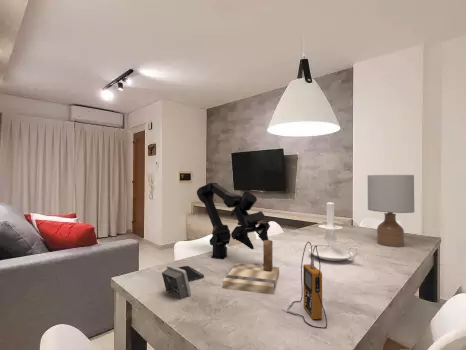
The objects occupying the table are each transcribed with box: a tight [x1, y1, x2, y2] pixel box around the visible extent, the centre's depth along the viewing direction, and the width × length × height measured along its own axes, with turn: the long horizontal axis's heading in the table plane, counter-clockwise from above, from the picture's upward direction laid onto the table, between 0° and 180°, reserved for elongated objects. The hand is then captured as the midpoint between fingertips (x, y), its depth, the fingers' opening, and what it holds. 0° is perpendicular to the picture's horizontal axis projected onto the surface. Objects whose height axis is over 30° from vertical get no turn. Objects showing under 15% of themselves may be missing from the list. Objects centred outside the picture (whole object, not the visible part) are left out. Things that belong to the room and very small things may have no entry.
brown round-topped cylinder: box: [262, 239, 273, 272], centre depth 101 cm, size 4×4×14 cm
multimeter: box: [281, 241, 328, 329], centre depth 73 cm, size 15×10×20 cm
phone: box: [177, 265, 205, 283], centre depth 103 cm, size 8×1×15 cm
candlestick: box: [308, 201, 359, 262], centre depth 123 cm, size 21×25×28 cm
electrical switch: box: [161, 264, 192, 300], centre depth 84 cm, size 9×5×9 cm, turn 51°
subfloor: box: [222, 262, 280, 295], centre depth 97 cm, size 18×20×2 cm
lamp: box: [367, 174, 415, 248], centre depth 154 cm, size 24×24×42 cm
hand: (261, 247), depth 104 cm, fingers open, 9 cm apart
